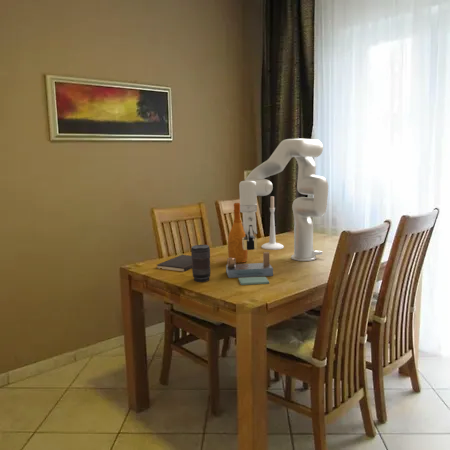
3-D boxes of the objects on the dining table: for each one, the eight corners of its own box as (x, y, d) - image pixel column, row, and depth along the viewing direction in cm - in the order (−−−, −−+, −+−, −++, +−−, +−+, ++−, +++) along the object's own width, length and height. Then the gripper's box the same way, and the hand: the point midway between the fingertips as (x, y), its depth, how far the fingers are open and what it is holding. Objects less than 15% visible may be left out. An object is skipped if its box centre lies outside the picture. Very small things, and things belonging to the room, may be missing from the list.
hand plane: (268, 269, 208) (268, 250, 207) (273, 275, 198) (272, 254, 197) (226, 271, 206) (225, 252, 205) (228, 277, 196) (228, 256, 195)
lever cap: (255, 246, 204) (255, 235, 203) (257, 249, 199) (256, 237, 198) (242, 247, 203) (242, 236, 202) (243, 249, 198) (243, 238, 197)
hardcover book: (156, 269, 216) (156, 264, 216) (182, 258, 236) (182, 254, 236) (184, 272, 209) (184, 268, 208) (208, 261, 229) (208, 257, 228)
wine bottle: (246, 264, 220) (245, 203, 215) (226, 263, 222) (225, 203, 217) (249, 259, 229) (248, 201, 225) (230, 258, 231) (229, 201, 227)
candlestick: (287, 246, 259) (287, 195, 255) (277, 250, 249) (277, 197, 244) (267, 244, 266) (267, 194, 261) (257, 248, 256) (257, 196, 251)
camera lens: (192, 277, 198) (190, 244, 196) (210, 276, 199) (209, 244, 196) (192, 282, 190) (191, 248, 188) (211, 282, 191) (210, 247, 188)
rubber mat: (265, 278, 195) (265, 276, 194) (269, 283, 187) (269, 281, 187) (238, 279, 193) (238, 277, 193) (240, 285, 186) (240, 283, 185)
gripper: (260, 210, 190) (261, 252, 193) (253, 205, 206) (254, 243, 210) (242, 211, 189) (244, 253, 192) (237, 206, 206) (239, 244, 209)
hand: (249, 247), depth 201 cm, fingers closed on lever cap, 5 cm apart
